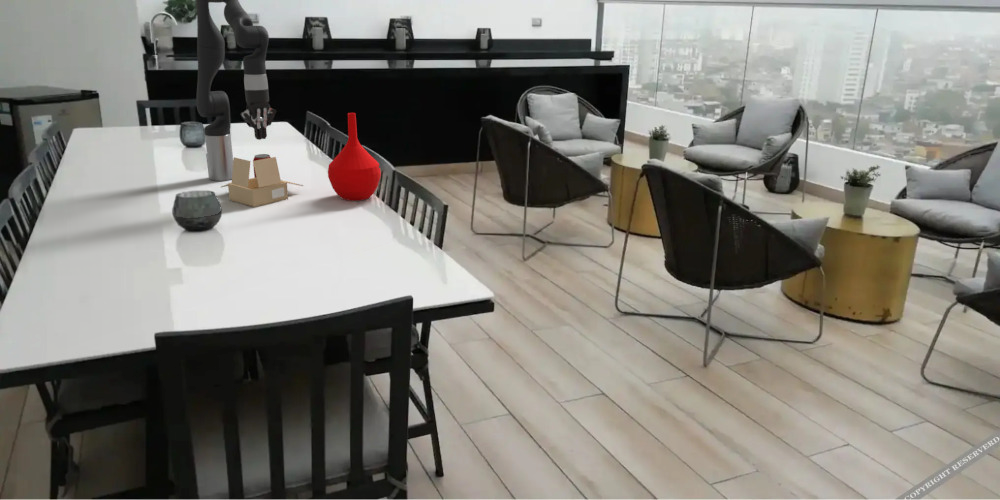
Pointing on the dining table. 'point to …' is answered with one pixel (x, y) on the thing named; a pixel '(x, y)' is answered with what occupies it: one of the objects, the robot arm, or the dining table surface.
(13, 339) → the dining table surface
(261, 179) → the front flap
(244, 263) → the dining table surface
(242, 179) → the right flap
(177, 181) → the dining table surface
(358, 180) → the vase
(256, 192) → the carton
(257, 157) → the beverage can
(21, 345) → the dining table surface
